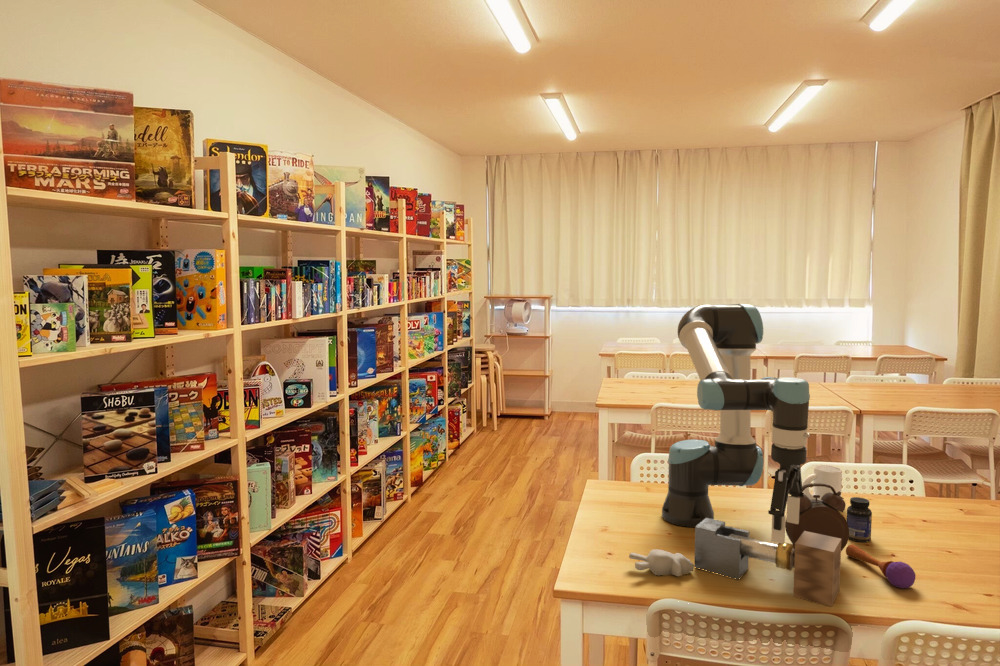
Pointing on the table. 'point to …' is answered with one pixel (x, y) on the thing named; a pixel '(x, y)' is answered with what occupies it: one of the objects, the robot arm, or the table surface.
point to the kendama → (886, 568)
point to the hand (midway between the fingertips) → (785, 532)
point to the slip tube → (768, 551)
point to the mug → (824, 480)
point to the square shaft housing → (719, 548)
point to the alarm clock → (820, 516)
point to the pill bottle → (859, 520)
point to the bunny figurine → (663, 563)
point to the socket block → (817, 568)
